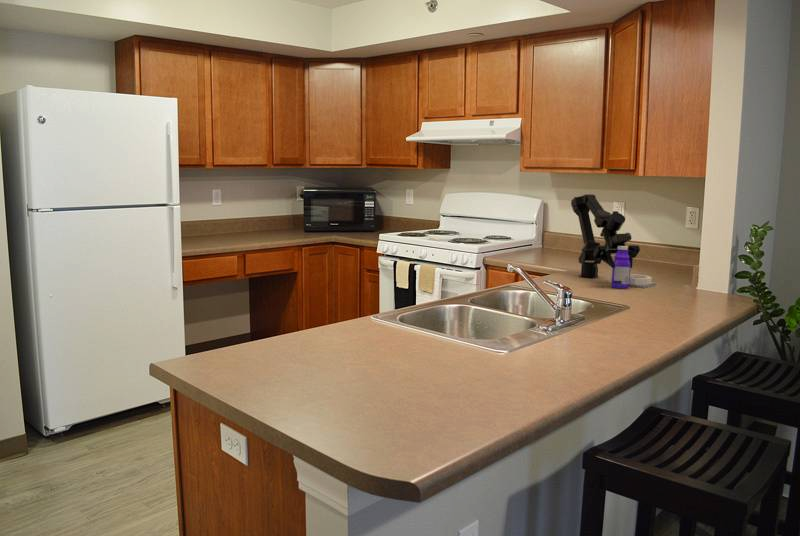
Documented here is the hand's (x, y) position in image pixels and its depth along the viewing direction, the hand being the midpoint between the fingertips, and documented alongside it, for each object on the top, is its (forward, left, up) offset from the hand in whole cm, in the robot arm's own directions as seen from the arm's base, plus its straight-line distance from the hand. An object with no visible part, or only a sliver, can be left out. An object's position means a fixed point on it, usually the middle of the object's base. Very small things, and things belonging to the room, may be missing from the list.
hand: (622, 267), depth 276 cm
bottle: (-1, +1, -9) cm, 9 cm away
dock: (0, +13, -9) cm, 16 cm away
